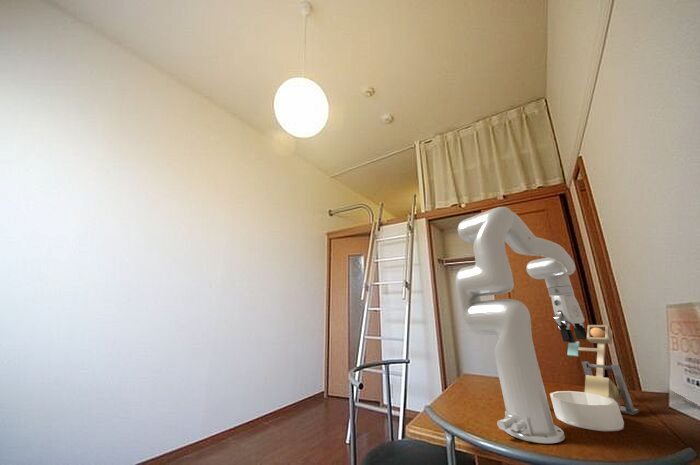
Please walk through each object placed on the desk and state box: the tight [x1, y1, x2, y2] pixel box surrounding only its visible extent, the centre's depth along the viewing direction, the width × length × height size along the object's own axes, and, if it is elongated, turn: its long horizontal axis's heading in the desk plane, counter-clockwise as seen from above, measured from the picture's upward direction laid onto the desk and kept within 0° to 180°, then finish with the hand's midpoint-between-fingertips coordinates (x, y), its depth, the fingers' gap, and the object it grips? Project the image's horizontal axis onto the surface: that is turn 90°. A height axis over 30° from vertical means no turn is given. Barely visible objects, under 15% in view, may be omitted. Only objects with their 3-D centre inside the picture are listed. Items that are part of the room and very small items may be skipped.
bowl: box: [549, 390, 625, 432], centre depth 68 cm, size 14×14×5 cm
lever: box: [567, 324, 621, 409], centre depth 81 cm, size 23×12×6 cm
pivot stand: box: [581, 361, 640, 416], centre depth 76 cm, size 4×9×12 cm, turn 27°
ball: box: [590, 328, 605, 337], centre depth 83 cm, size 4×4×4 cm
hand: (576, 340), depth 91 cm, fingers open, 9 cm apart
